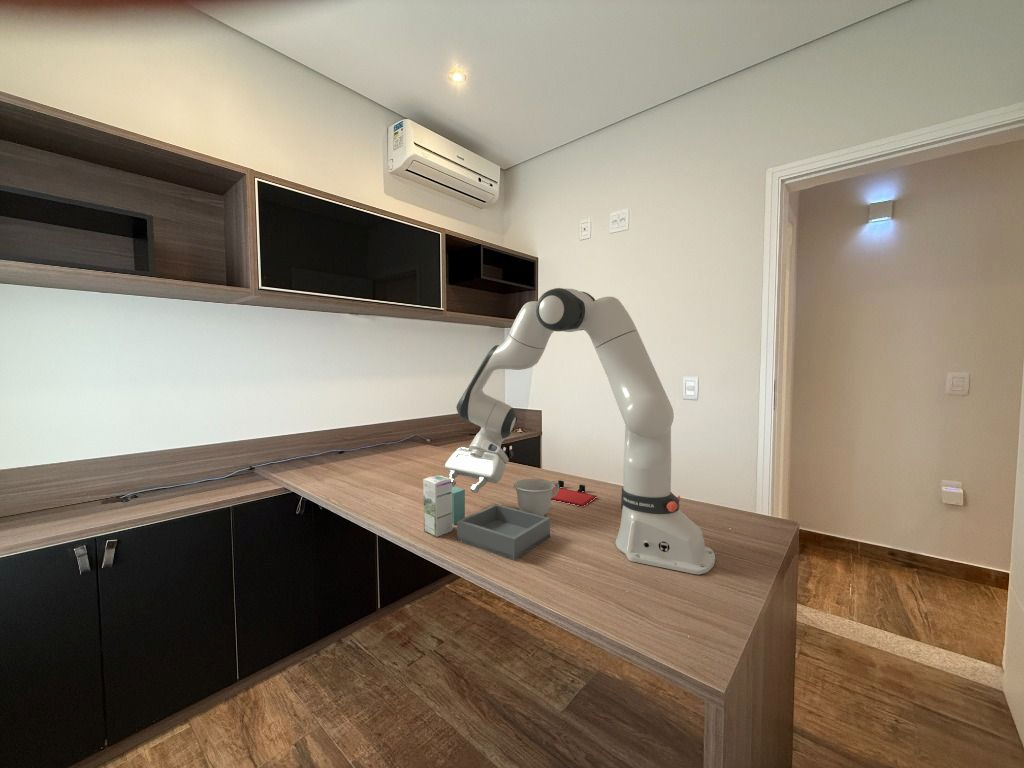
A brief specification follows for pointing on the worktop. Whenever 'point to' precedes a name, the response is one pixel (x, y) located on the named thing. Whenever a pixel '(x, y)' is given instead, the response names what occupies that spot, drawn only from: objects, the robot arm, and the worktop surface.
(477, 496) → the worktop surface
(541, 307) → the robot arm
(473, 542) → the tote
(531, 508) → the teacup
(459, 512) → the teal block
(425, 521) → the syrup box
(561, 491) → the red flat slab
